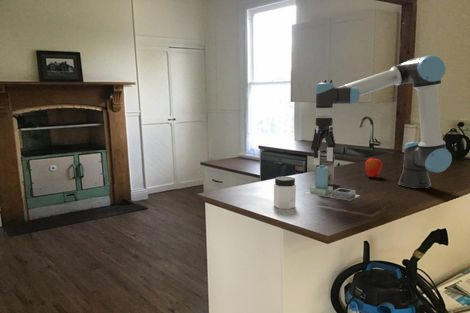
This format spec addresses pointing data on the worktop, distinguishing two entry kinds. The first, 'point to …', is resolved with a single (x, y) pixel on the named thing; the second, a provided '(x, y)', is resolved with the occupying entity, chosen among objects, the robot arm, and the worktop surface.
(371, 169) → the apple
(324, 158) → the coffee box
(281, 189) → the jar
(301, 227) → the worktop surface
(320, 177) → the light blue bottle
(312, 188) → the panel
